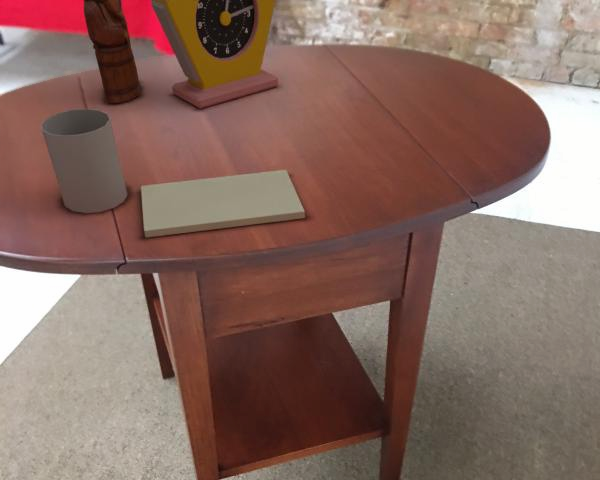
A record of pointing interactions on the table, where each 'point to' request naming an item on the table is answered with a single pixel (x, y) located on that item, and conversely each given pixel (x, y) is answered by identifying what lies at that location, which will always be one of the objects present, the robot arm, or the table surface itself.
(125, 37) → the wooden figurine
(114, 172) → the cup
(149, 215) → the mat
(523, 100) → the table surface
